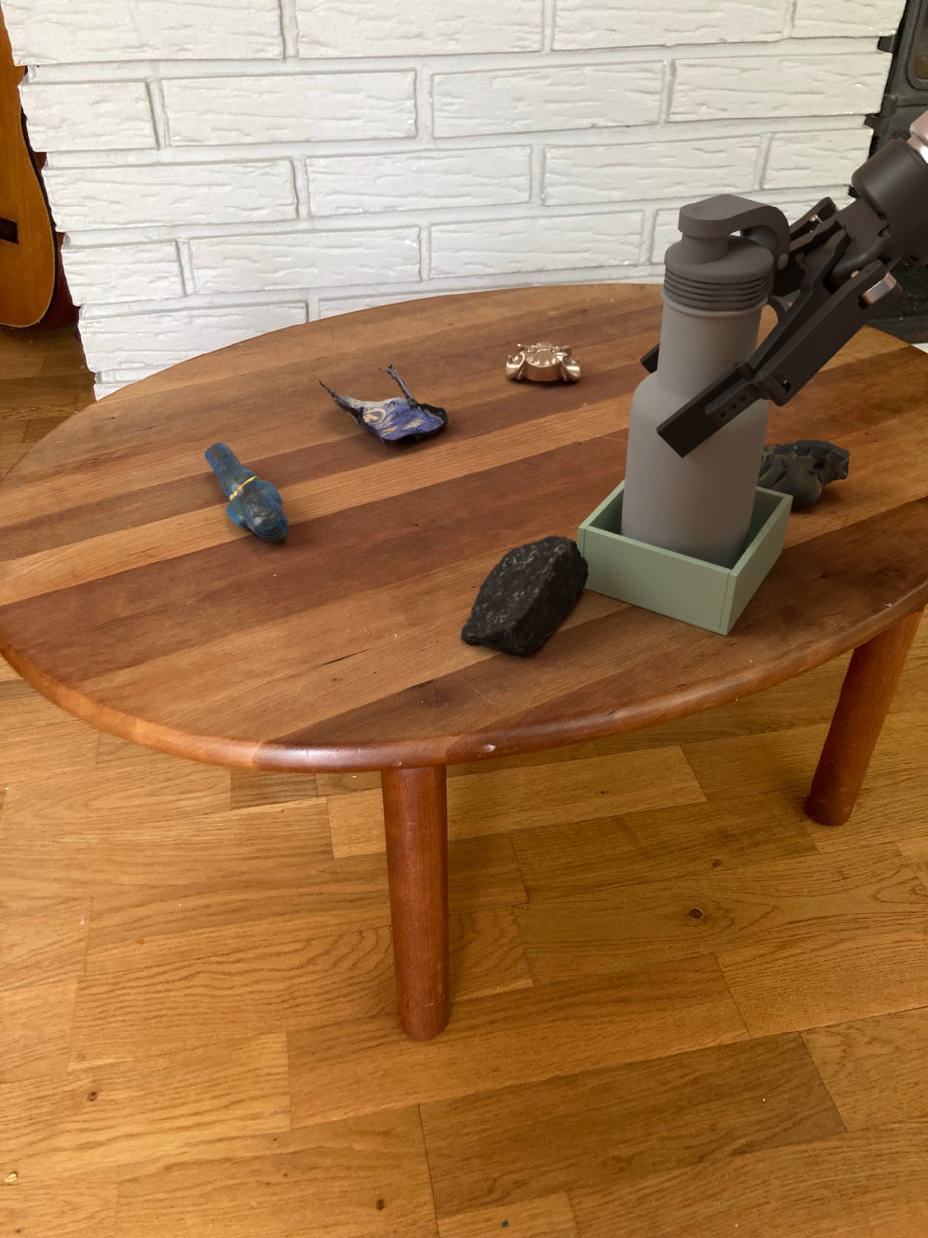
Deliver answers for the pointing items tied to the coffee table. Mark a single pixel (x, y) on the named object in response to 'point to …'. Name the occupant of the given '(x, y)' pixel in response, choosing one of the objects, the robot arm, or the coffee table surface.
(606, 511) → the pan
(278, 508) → the blue long piece
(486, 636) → the rock
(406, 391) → the snack package
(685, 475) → the water bottle
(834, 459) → the stone
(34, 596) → the coffee table surface
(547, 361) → the ornament
